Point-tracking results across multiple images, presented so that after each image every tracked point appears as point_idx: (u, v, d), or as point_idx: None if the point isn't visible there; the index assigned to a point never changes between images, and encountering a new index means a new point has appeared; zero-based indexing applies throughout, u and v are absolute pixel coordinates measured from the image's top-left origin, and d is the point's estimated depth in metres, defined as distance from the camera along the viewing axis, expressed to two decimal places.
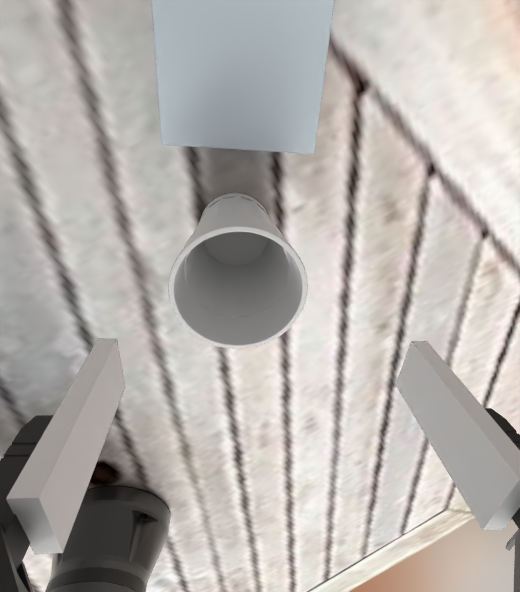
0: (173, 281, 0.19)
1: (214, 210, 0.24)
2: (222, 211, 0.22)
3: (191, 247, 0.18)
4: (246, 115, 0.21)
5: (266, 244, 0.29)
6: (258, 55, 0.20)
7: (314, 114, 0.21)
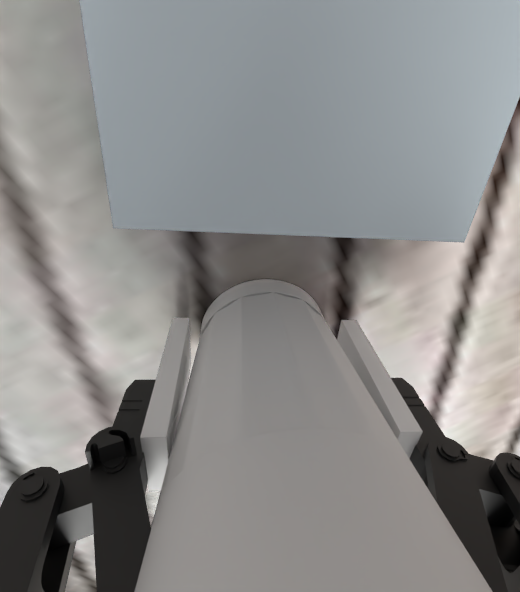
0: None
1: (233, 350, 0.11)
2: (254, 375, 0.10)
3: None
4: (322, 161, 0.08)
5: None
6: (370, 3, 0.07)
7: (485, 157, 0.09)
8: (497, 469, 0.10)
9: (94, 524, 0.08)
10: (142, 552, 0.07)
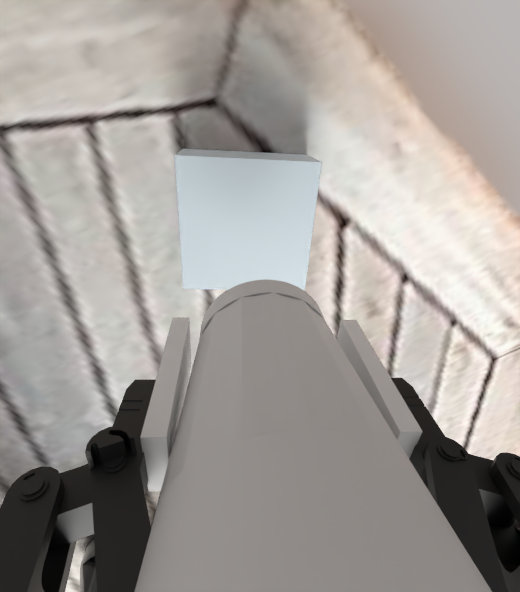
0: None
1: (233, 350, 0.11)
2: (254, 376, 0.10)
3: None
4: (250, 267, 0.27)
5: None
6: (259, 229, 0.25)
7: (304, 264, 0.27)
8: (497, 469, 0.10)
9: (94, 524, 0.08)
10: (142, 552, 0.07)
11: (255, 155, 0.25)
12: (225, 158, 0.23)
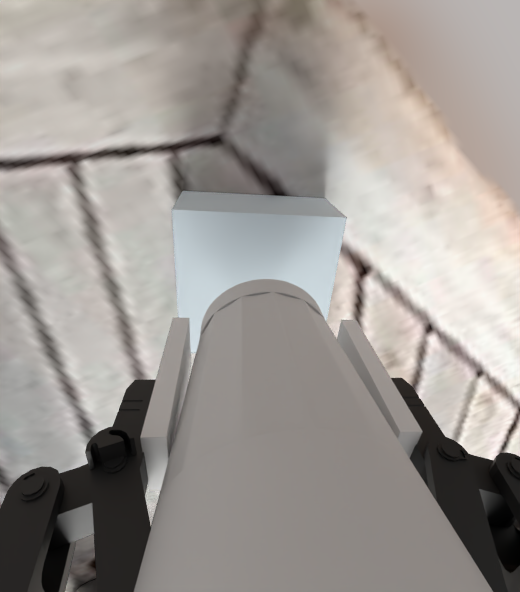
0: None
1: (233, 349, 0.11)
2: (254, 375, 0.10)
3: None
4: None
5: None
6: None
7: None
8: (497, 469, 0.10)
9: (94, 524, 0.08)
10: (142, 552, 0.07)
11: (267, 204, 0.21)
12: (232, 213, 0.19)
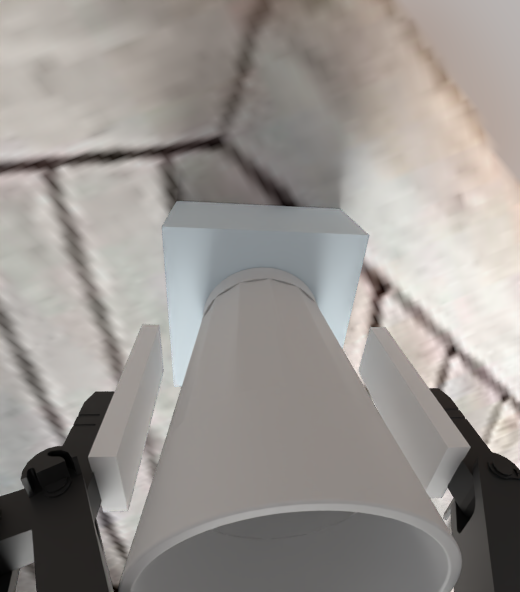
0: None
1: (230, 326, 0.12)
2: (247, 346, 0.11)
3: (173, 543, 0.06)
4: None
5: None
6: None
7: None
8: None
9: (35, 555, 0.07)
10: (91, 577, 0.07)
11: (274, 217, 0.18)
12: (234, 230, 0.16)
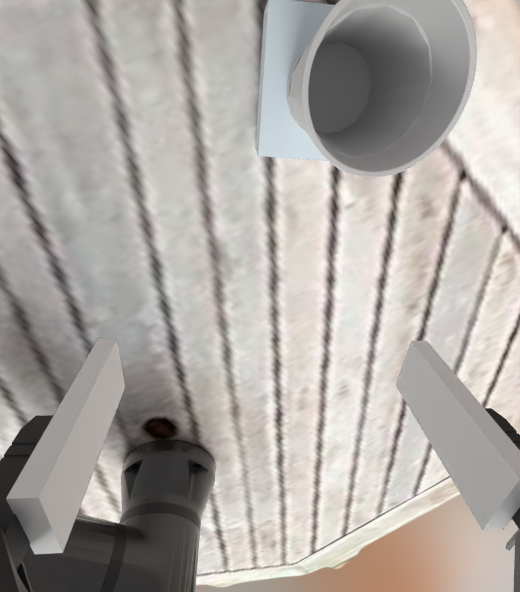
0: (311, 61, 0.15)
1: None
2: None
3: (344, 3, 0.14)
4: None
5: (365, 105, 0.25)
6: None
7: None
8: None
9: None
10: None
11: None
12: (317, 4, 0.23)
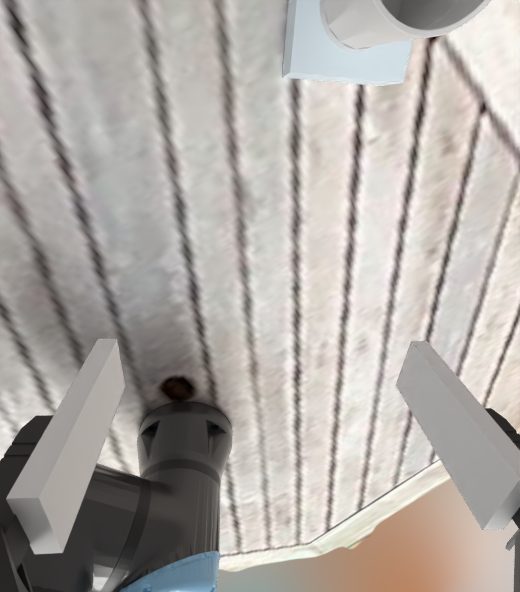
0: None
1: None
2: None
3: None
4: None
5: (398, 12, 0.25)
6: None
7: (407, 49, 0.28)
8: None
9: None
10: None
11: None
12: None
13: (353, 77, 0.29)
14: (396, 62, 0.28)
